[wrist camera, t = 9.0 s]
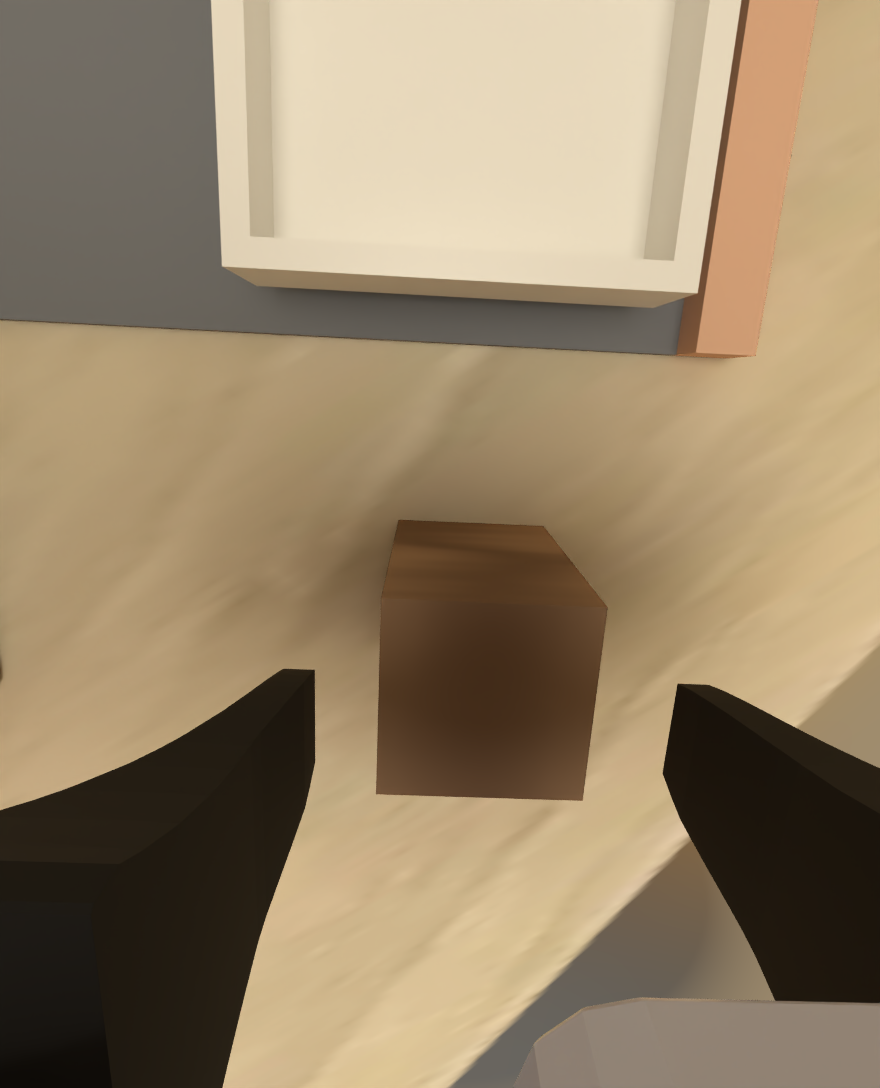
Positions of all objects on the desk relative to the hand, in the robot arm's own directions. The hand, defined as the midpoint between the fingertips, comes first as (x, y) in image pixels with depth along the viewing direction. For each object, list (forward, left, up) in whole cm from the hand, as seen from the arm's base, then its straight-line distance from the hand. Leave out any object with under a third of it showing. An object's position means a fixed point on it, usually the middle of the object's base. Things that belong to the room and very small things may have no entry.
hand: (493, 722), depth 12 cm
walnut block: (0, 0, -8) cm, 8 cm away
